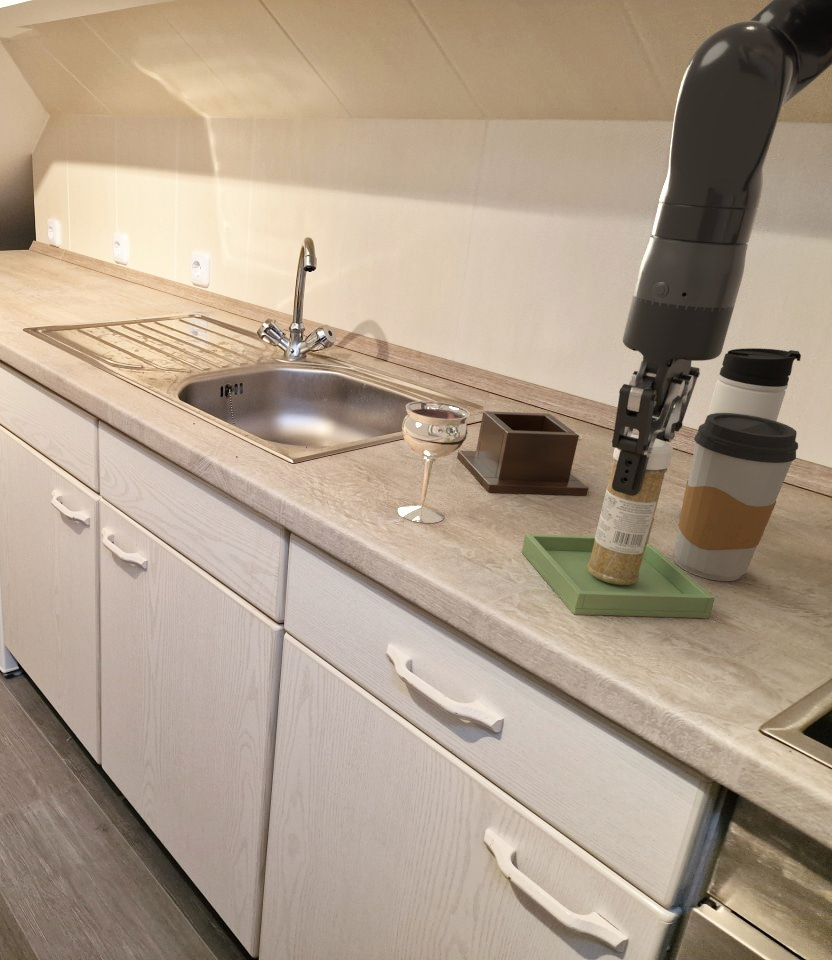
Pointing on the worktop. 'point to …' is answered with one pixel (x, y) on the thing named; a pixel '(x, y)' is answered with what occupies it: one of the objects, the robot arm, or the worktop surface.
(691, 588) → the tray
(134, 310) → the worktop surface
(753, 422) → the coffee cup
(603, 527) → the sprinkles bottle
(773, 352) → the travel mug
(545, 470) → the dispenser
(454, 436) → the wineglass
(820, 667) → the worktop surface
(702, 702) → the worktop surface
